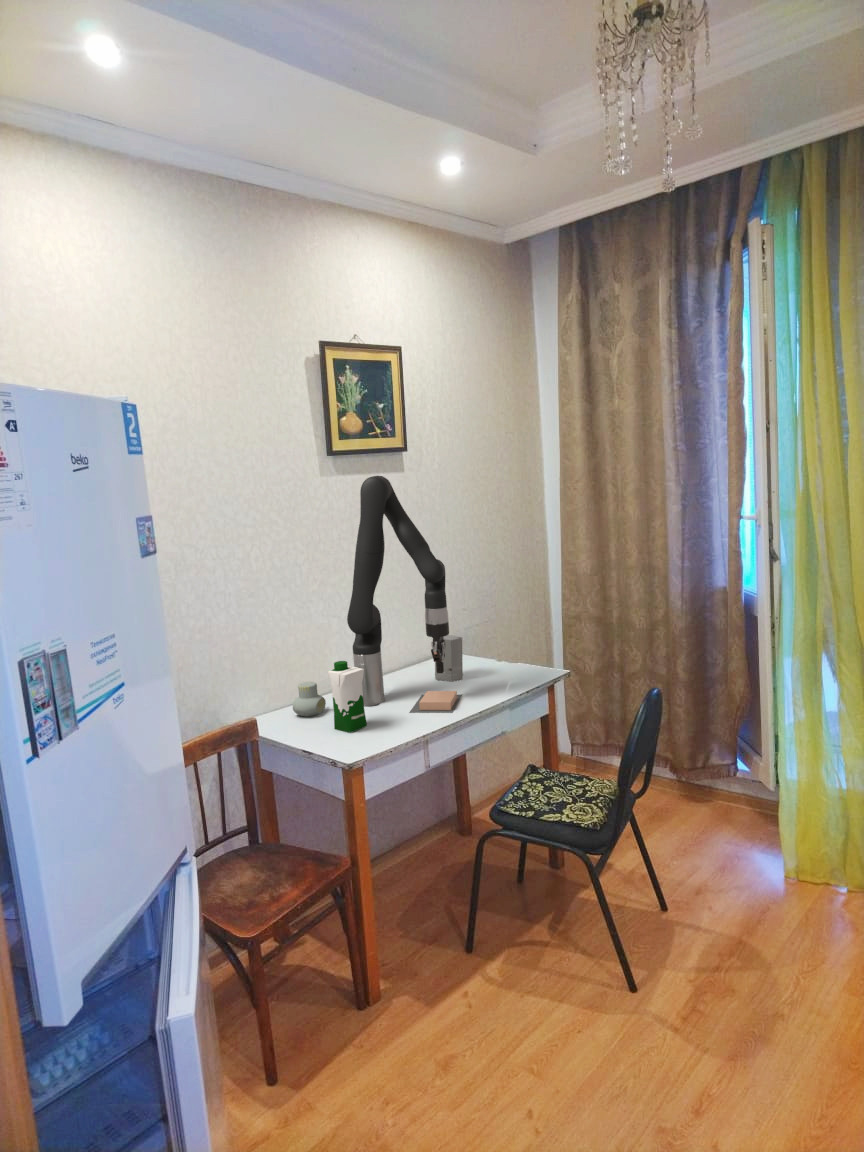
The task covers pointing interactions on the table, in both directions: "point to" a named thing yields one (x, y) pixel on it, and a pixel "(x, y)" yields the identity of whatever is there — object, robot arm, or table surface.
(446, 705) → the glazed tile
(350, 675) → the milk carton
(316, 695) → the grey rounded piece
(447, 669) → the skincare box
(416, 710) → the rubber mat
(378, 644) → the robot arm
